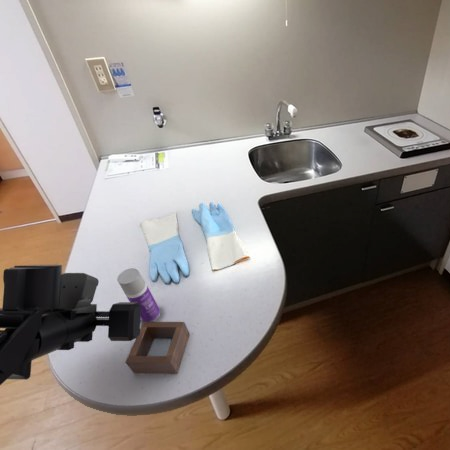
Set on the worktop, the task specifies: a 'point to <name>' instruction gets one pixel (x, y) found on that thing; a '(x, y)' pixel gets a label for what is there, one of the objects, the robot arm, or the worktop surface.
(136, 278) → the container
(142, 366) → the frame
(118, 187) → the worktop surface
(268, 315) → the worktop surface
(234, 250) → the rubber gloves
